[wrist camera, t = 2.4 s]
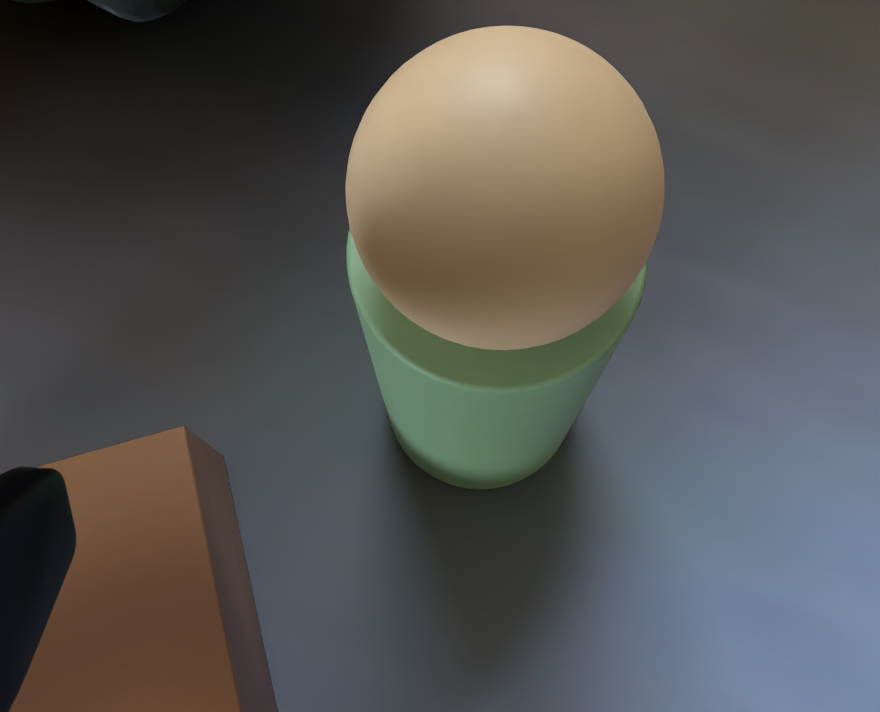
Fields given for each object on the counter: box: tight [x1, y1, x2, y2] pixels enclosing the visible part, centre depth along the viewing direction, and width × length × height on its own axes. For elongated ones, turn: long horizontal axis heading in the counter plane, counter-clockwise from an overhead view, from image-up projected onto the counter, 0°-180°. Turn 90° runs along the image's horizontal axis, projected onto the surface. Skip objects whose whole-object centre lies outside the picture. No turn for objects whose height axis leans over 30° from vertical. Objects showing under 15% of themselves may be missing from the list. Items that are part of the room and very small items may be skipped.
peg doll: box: [345, 26, 665, 489], centre depth 14 cm, size 4×4×12 cm
